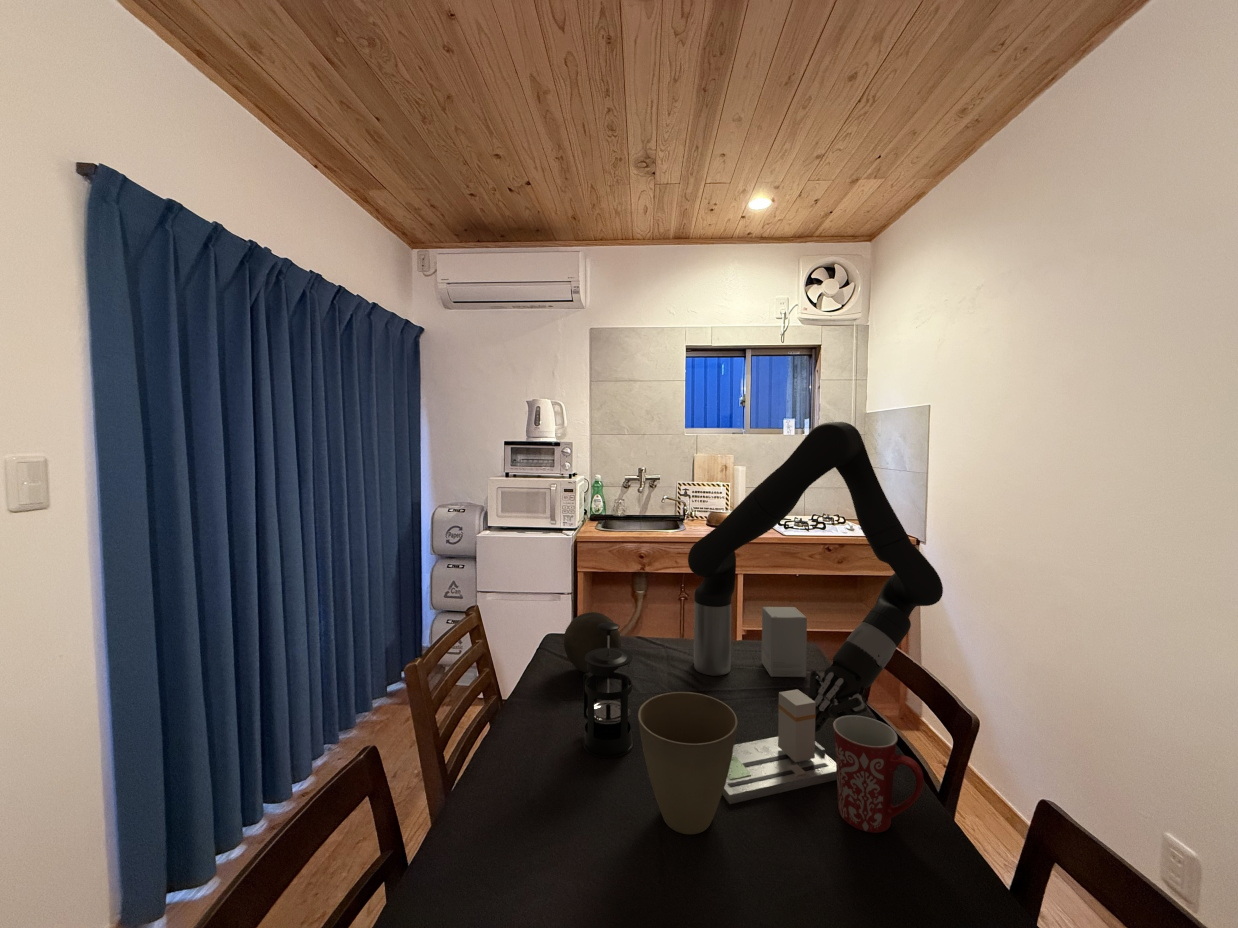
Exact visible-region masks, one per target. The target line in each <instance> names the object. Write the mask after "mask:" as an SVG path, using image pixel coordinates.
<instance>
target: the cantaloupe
mask: <svg viewBox="0 0 1238 928" xmlns="http://www.w3.org/2000/svg"><path fill="white" fill-rule="evenodd" d="M607 622H611V623H615V622H614V620H613V619H611V618H610V617H608V616H607V615H605V614H604V613H601V612H596V611H594V612H593V611H591V612H590V611H589V612H585V613H581V614H579V615H577V616H576V617H574V618H573V619H572V620H571V621H570V622H569V624H568V626H567V627H566V629H565V631H564V635H563V647H564V648H563V649H564V651H565V654H566V657H567V659H568V661H569V662H570V663H571V664H572V665H573V667H575V668H576V669H577V670H578V671H580V672H582V673H584V674H586V673H589V671H588V670H587V662H586V661H585V655H586V654H587V653H588V652H590V651H592V650H595V649H599V648H608V636H607V635H606V631H603V630H600V629H598V625H599V624H601V623H607ZM621 637H622V636H621V634H620V631H619V629H617V630H614V631H611V635H610V642H609V648H618V649H622V639H621Z"/></svg>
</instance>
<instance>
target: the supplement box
mask: <svg viewBox="0 0 1238 928" xmlns="http://www.w3.org/2000/svg"><path fill="white" fill-rule="evenodd" d="M761 610H762V613H761V614H762V615H761V616H762V617H761V664H762V665H763V666H764V668H765V670H766V671H767V672H768V674H769V676H770V677H771V678H773V677H775V678H776V677H777V678H779V677H780V678H781V677H782V678H783V677H784V678H785V677H786V678H788V677H789V678H806V677H807V635H808V632H807V630H808V617H806V616H805V614H803V613H802V612H801V611H800V610H798V609H797V607H796V606H763V607H762V609H761Z"/></svg>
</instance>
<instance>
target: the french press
mask: <svg viewBox="0 0 1238 928" xmlns="http://www.w3.org/2000/svg"><path fill="white" fill-rule="evenodd" d="M598 629H600V630H603V631H606V635H607V636H608V648H599V649H595V650H592V651H590V652H588V653H587V654H586V655H585V661H586V662H587V670H588V671H589V673H584V674H583V718H584V719H585V720H587V721H586V723H585V724H584V740H583V748H584V751H586V752H587V754H589V755H591V756H592V757H595V758H599V759H606V760H608V759H617V758H620V757H623V756H625V755H627V754H629V752H631V750H632V748H633V746H634V745H633V744H634V740H633V736H632V735H633V727H632V724H631V722H630V720H629V717H630V715H631V708H630V707H629V695H630V694H631V693H632V691H633V681H632V679H631V677H629V676H628V675H626V674H623V673H621V672H617V670H618V669H619V668H620V667H622V668H623V667H625V666H627V667H628V668H630V667H631V666H630V664H631V662H632V660H633V656H632V653H630V652H629V651H628V650H626V649H622V648H621V649H618V648H609V642H610V635H611V631H614V630H617V629H618V630H619V629H620V625H619V624H618V623H616V622H614V623H611V622H607V623H601V624H599V625H598ZM606 679H607V681H606V682H607V691H606V692H602V691H601V692H600V691H598V681H599V680H606ZM610 680H617V681H620V685H621V687H620V691H616V692H615V691H614V692H610ZM598 700H599V701H598ZM618 700H620V701H618ZM605 733H610V734H611V733H612V734H615V735H616V734H617V735H619V738H618V737H617V738H613V739H602V738H597V737H596V736H598V735H600V734H605Z"/></svg>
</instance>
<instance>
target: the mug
mask: <svg viewBox="0 0 1238 928" xmlns="http://www.w3.org/2000/svg"><path fill="white" fill-rule="evenodd" d="M832 728H833V731H834V746H835V747H834V749H835V750H834V751H835V762H836V773H837V780H836V784H837V785H836V786H837V806H838V807H837V808H838V812H839V815H840V816H841V818H842V820H844V821H845V823H847V824H849V825H850V826H852V827H854V828H855V829H858V830H860V831H863V832H867V833H873V834H874V833H875V834H877V833H883V832H885V831H887V830H888V829H889V828H890V827H891V824H892V818H894V817H896V816H897V815H899V814H901V813H903V812H904V811H907V809H909V808H910V807H911V806H912V805H913V804H914V803H915V802H916V801H917V800H918V798H919V797H920V795H921V793H922V790H923V788H924V782H925V781H924V780H925V779H924V773H923V770H922V768H921V766H920V764H919V763H918V762H917V761H916V760H914V759H913V758H912V757H909V756H907V755H903V754H897V753H896V750H897V749H896V747H897V743H898V734H897V732H896V731H895V730H894V729H893V728H892V727H891V726H889V725H888V724H886V723H884V722H882V721H880V720H877V719H875V718H872V717H868V716H862V715H849V716H842V717H839V718H837V719H834V721H833V723H832ZM900 765H904V766H906V767H908V768H909V769H910V770H911V771H912V773H913V774H914V776H915V782H916V783H915V788H914V791H913V792H912V794H911V795H910V796H909V797H907V798H906V799H905V800H903V801H902V802H900V803H899V804H896V805H895V804H893V794H894V779H895V772H896V770H897V768H898V767H899V766H900Z"/></svg>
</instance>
